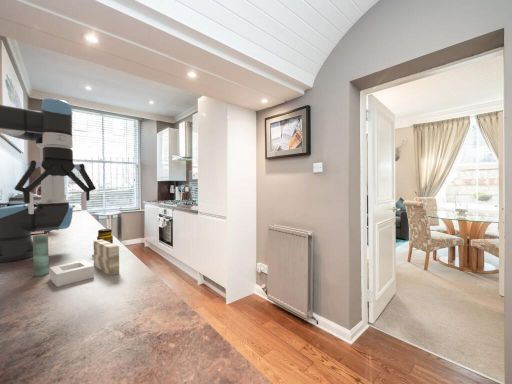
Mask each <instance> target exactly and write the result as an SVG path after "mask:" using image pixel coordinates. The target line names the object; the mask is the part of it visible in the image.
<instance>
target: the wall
mask: <svg viewBox="0 0 512 384" xmlns="http://www.w3.org/2000/svg"><path fill="white" fill-rule="evenodd" d="M93 255H94V259H93V266H94V267H96V268H97V269H99V270H100V271H101V272H104V274H107V275H108V276H111V277H112V276H113V275H114V276H115V275H117V274H120V246H119V245H117V244H115V243H114V242H113V243H110V242H108V241H105V240H102V239H101V240H97V239H96V240H93Z"/></svg>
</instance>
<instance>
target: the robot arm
mask: <svg viewBox="0 0 512 384" xmlns="http://www.w3.org/2000/svg"><path fill="white" fill-rule="evenodd" d="M40 109H41V110H40V111H39V110H33V109H27V108H19V107H14V106H11V105H10V106H9V105H4V104H3V105H2V104H0V133H2V134H3V135H5V136H6V135H7V136H9V137H13V138H15V139H20V140H25V141H31V142H35V146H37V148H39V151H40V152H39V153H40V161H36V160H33V159H32V160H30V161H29V162H28V167H27V169H26V171H24V174H23V175H22V176H21V178H20V179H19V181H18V182H17V184H16V185H15V187H14V190H15V191H18V192H21V193H22V194H23V196H22V197H23V199H22V201H23V203H24V204H16V205H9V206H2V207H0V263H8V262H15V261H20V260H25V259H29V258H33V238H32V233H36V232H37V233H39V232H47V231H60V230H66V229H68V228H70V227H71V223H72V219H73V213H74V210H73V209H74V207H73V205H71V204H70V201H69V200H67V199H66V195H65V194H66V192H65V191H66V189H65V187H66V186H65V185H66V184H65V183H66V182H65V177H66V176H67V177H69V178H70V179H71V181H73V182H74V183H75V184H76V185H77V186H78V187H79V188H80V189H81V190H82V191H81V192H80V203H81V205H80V206H81V208H80V209H81V211H87V201H88V202H89V201H90V192H91V191H95V190H96V189H97V188H96V186H95V184H94V183H93V181H92V180H91V178H90V176H89V174H88V173H87V170H86V168H85V164H84V163H79V164H78V163H77V164H76V163H74V153H73V149H72V148H73V147H74V146H73V112H72V111H73V109H72V105H71V104H70V103H69V102H67V101H66V100H61V99H58V98H51V97H50V98H49V97H47V98H43V100H41V108H40ZM39 167H40V175H38V176H37V177H36V178H35V179H34V180H33V181H31V182H30V183H28V185H27V186H26V187H24V186H25V185H26V183H27V181H28V180H29V179H30V177H31V176H32V174H33V173H34V172H35V170H36V169H38V168H39ZM74 169H75V170H77V171H78V172H79V174H80V176H81V178H82V179H83V180H84V182H85V183H84V182H83V181H82V180H81V179H80V178H79V177H78V176H76V173H74V172H73V170H74ZM39 184H40V188H41V189H40V193H41V194H40V200H38V201H37V203H36V206H34V192H32V190H34V188H35V187H37V186H38V185H39Z"/></svg>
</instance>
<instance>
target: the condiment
mask: <svg viewBox="0 0 512 384" xmlns="http://www.w3.org/2000/svg"><path fill="white" fill-rule="evenodd" d="M101 239H102V240H105V241H108V242H110V243H113V244H114V242H113V241H114V240H113V239H114V235H113V231H112V229H111V228H102V229H98V231H97V236H96V240H101ZM90 260H94V254H91V259H90Z"/></svg>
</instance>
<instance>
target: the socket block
mask: <svg viewBox="0 0 512 384" xmlns="http://www.w3.org/2000/svg"><path fill="white" fill-rule="evenodd" d="M92 278H95V266H94V264H92V263H90V262H88V261H87V260H85V259H83V260H78V261H73V262H69V263H63V264H59V265H54V266H49V279H50V281H51V282H52V283H53V284H54V285H55V287H57V288H58V287H62V286H65V285H70V284H73V283H77V282H80V281H85V280H89V279H92Z"/></svg>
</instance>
